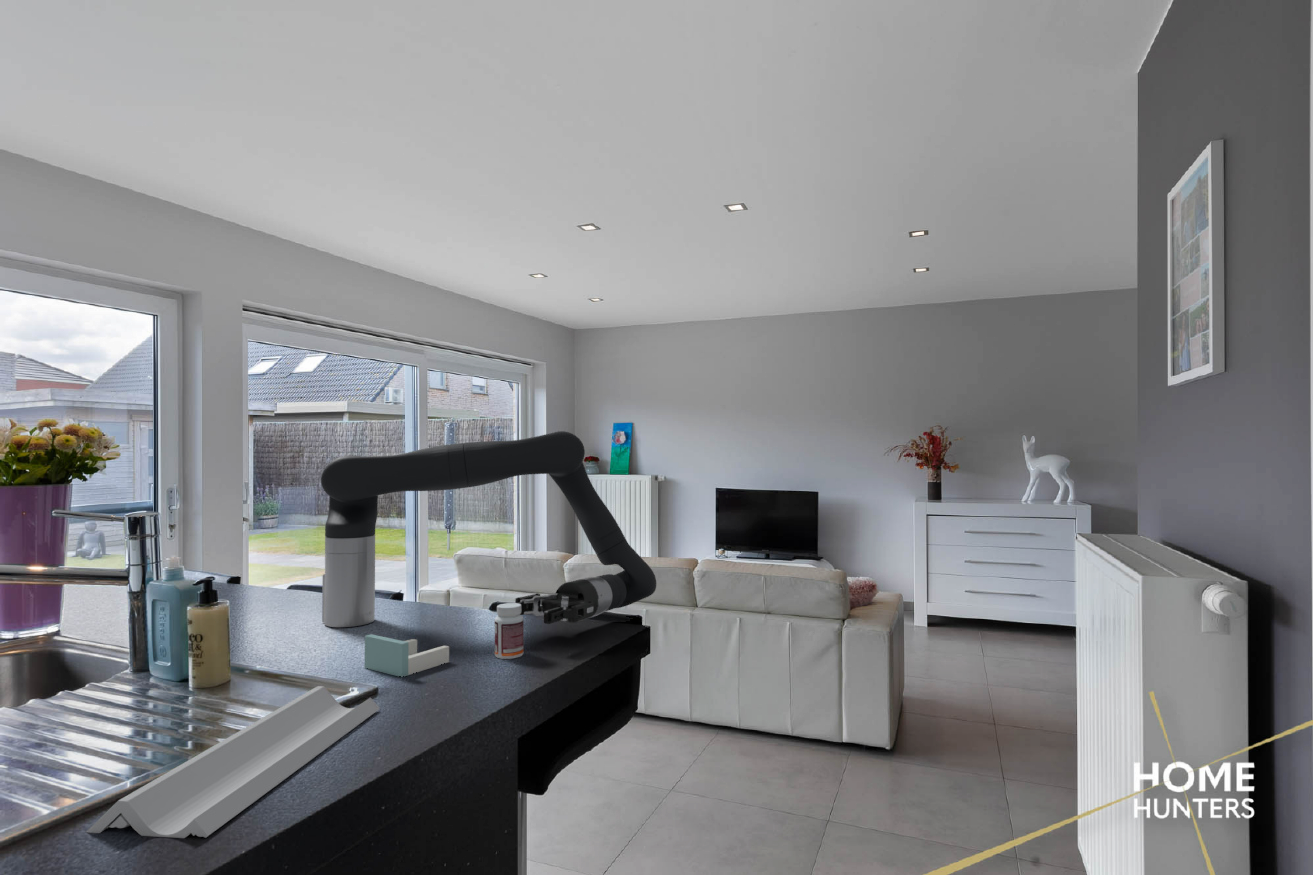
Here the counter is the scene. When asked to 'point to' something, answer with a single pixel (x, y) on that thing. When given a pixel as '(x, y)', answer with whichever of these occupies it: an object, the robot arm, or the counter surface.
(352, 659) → the counter surface
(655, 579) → the robot arm
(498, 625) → the pill bottle
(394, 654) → the u-shaped bracket
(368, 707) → the crown molding
